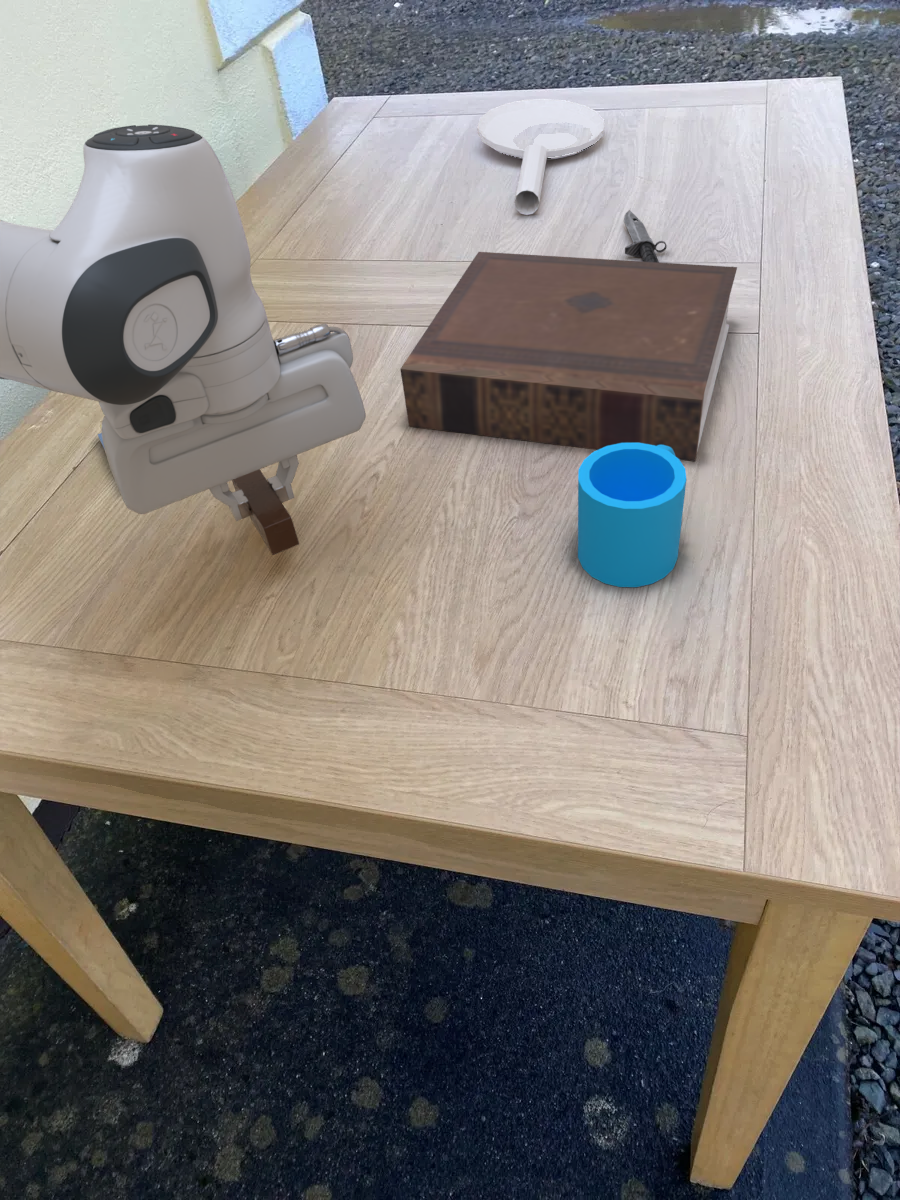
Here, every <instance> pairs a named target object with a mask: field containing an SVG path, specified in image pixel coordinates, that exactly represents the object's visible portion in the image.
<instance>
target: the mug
mask: <svg viewBox="0 0 900 1200" xmlns="http://www.w3.org/2000/svg"><path fill="white" fill-rule="evenodd" d="M577 473H578V475H577V483H578V484H577V559H578V561H579V562H580V565H581V567H582V569H583V570H584V571H585V572H586V573H587V574H588V575H589V576H590V577H591V578H594V579H595V580H597V581H599V582H601V583H602V584H604V585H605V584H606V585H610V586H613V587H618V588H640V587H644V586H648V585H649V586H650V585H652V584H654V583H657V582H659V581H660V580H662V579H665V578H666V577H667V576H668V575H669V574H670V573H671V572H672V571H673V570H674V569H675V566H676V563H677V561H678V559H679V551H680V550H679V549H680V540H681V532H682V531H681V530H682V522H683V514H684V506H685V505H684V504H685V496H686V487H687V472H686V468H685V466H684V464H683V462H682V460H681V459H678V458H677V457H676V456H675V453H674V451H673V449H672V448H671V447H669V446H666V445H657V446H655V445H650V444H644V443H619V444H614V445H609V446H605V447H603V448H601V449H595V450H593V452H591V453H590V454H589V455H588V456H586V457H585V458H584V459H583V460H582V462H581V464H580V466H579V467H578V471H577Z"/></svg>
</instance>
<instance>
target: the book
mask: <svg viewBox="0 0 900 1200" xmlns="http://www.w3.org/2000/svg"><path fill="white" fill-rule="evenodd" d="M737 270H738V267H737V266H724V265H722V266H721V265H709V264H707V265H705V264H692V263H691V264H690V263H689V264H688V263H674V262H660V261H659V262H643V260H642V261H641V260H626V259H624V260H623V259H610V258H609V259H608V258H607V259H606V258H592V257H590V258H589V257H574V256H556V255H541V254H540V255H539V254H527V253H526V254H524V253H509V252H489V251H478V252H477V253H476V255H475V256H474V258H473V260H471V262H470V264H469V265H468V267H467V268H466V270H465V271H464V273H463V274H462V276H461V277H460V279H459V280H458V281H457V283H456V285H455V286H454V287H453V289H452V291H451V292H450V293H449V295H448V297H447V298H446V299H445V301H444V303H443V304H442V306H441V307H440V309H439V310H438V311H437V313H436V314H435V316H434V318H433V319H432V321H431V322H430V324H429V325H428V327H427V328H426V329H425V331H424V333H423V334H422V336H421V337H420V338H419V340H418V342H417V343H416V344H415V346H414V348H413V349H412V350H411V352H410V353H409V355H408V357H406V359H405V361H404V362H403V364H402V365H401V367H400V376H401V383H402V389H403V396H404V401H405V402H404V403H405V408H406V415H407V421H408V427H409V428H410V427H412V428H418V429H419V428H420V429H428V430H436V431H443V432H452V433H461V434H469V435H477V436H485V437H491V438H492V437H493V438H502V439H510V440H518V441H527V442H535V443H541V444H551V445H559V446H568V447H577V448H583V449H592V450H599V449H601V448H603V447H605V446H609V445H614V444H619V443H644V444H650V445H655V446H657V445H666V446H669V447H671V448H672V449H673V451H674V453H675V456H676V457H677V458H678V459H679V460H680V461H690V462H696V461H697V460H696V459H697V456H698V452H699V448H700V444H701V440H702V436H703V432H704V428H705V425H706V419H707V416H708V412H709V408H710V404H711V400H712V396H713V393H714V389H715V385H716V381H717V376H718V372H719V368H720V365H721V362H722V357H723V353H724V349H725V345H726V340H727V338H728V337H727V336H728V333H729V330H730V324H728V323H727V321H728V312H729V306H730V305H729V303H730V298H731V294H732V293H731V292H732V289H733V285H734V281H735V277H736V273H737Z"/></svg>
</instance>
